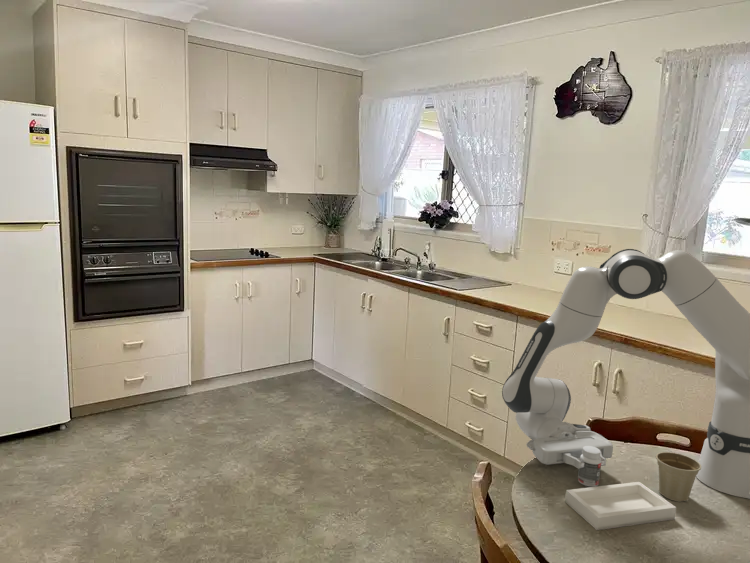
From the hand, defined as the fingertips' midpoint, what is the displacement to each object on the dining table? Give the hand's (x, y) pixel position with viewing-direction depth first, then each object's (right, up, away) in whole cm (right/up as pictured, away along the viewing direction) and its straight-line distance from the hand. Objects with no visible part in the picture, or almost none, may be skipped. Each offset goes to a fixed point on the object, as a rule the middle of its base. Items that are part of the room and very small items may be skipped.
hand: (592, 464), depth 132 cm
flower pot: (+19, -7, -1) cm, 20 cm away
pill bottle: (-1, -5, +2) cm, 5 cm away
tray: (+2, -7, -9) cm, 12 cm away
